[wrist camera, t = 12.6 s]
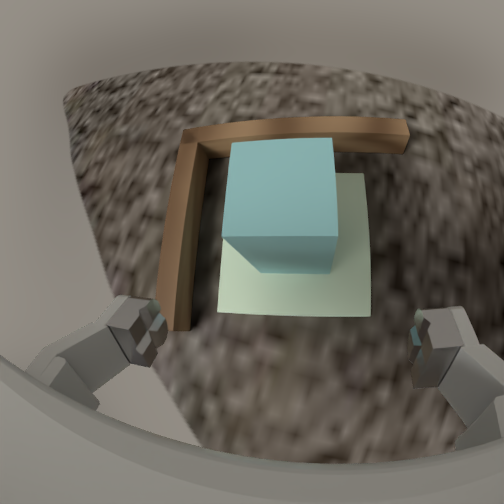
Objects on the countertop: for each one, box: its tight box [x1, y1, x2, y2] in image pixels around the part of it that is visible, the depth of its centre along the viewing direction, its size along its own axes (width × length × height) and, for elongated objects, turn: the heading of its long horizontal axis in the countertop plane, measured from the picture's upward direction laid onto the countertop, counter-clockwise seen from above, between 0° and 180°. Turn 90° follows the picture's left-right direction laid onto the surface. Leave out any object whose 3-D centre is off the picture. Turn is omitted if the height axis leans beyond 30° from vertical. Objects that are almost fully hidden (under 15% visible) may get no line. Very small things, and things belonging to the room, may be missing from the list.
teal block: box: [222, 138, 338, 274], centre depth 15 cm, size 4×4×8 cm
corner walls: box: [155, 116, 410, 331], centre depth 18 cm, size 17×15×2 cm
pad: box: [217, 173, 371, 317], centre depth 19 cm, size 10×10×1 cm
